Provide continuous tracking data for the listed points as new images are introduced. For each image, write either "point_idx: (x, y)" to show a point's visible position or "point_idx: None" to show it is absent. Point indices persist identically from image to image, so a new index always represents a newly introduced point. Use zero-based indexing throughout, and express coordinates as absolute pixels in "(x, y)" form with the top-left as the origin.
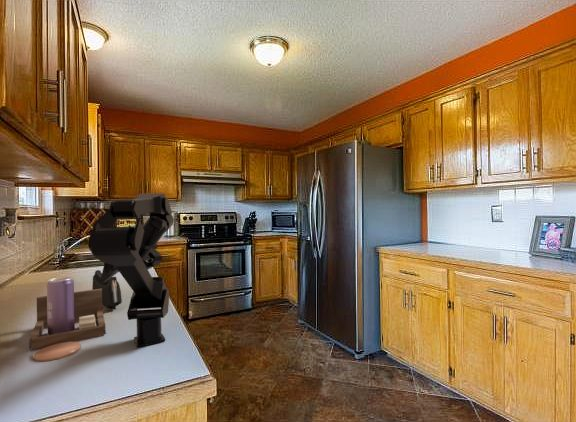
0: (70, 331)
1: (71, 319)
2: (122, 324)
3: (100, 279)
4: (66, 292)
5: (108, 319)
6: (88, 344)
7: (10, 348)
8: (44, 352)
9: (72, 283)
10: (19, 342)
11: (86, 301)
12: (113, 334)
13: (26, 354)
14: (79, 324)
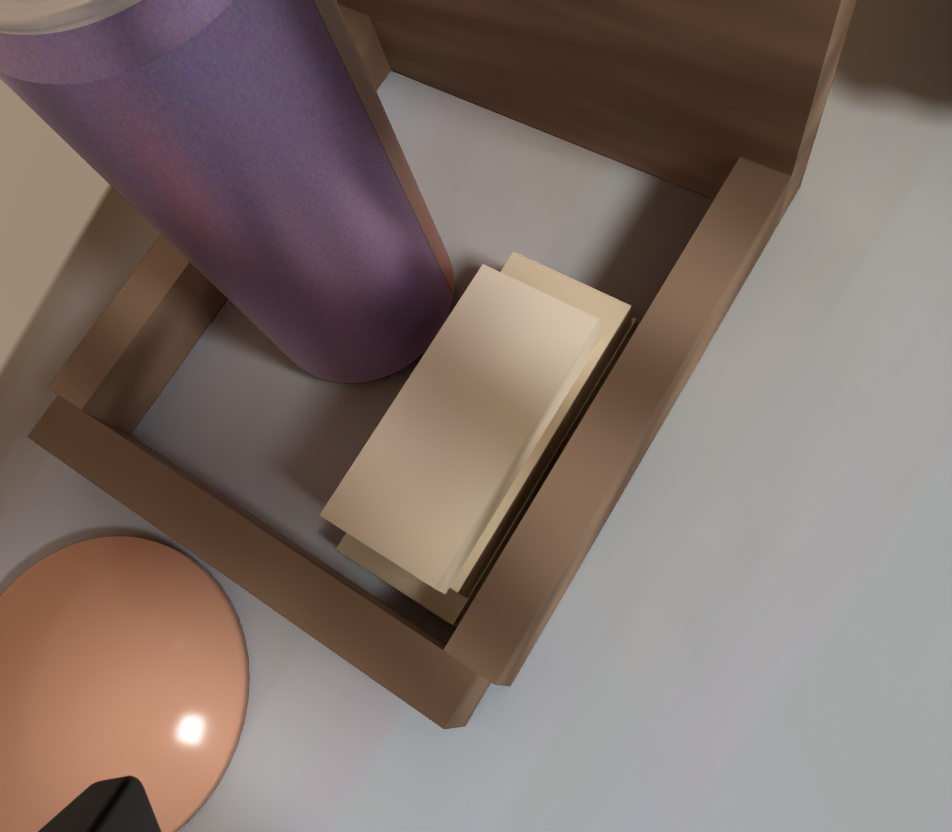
0: (243, 538)
1: (353, 333)
2: (764, 603)
3: (84, 791)
4: (151, 170)
5: (787, 311)
6: (279, 789)
7: (81, 280)
8: (33, 644)
9: (194, 56)
10: None
11: (656, 35)
12: (529, 792)
13: (33, 499)
14: (335, 496)
